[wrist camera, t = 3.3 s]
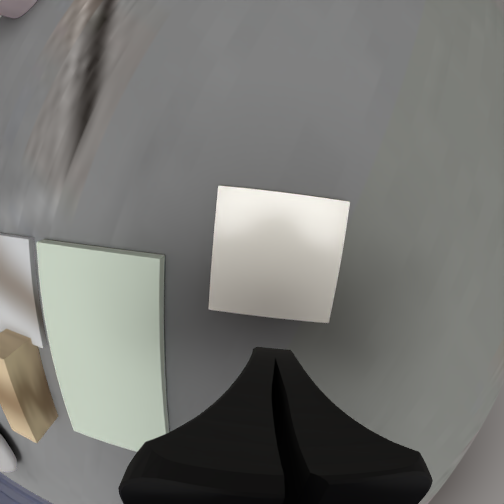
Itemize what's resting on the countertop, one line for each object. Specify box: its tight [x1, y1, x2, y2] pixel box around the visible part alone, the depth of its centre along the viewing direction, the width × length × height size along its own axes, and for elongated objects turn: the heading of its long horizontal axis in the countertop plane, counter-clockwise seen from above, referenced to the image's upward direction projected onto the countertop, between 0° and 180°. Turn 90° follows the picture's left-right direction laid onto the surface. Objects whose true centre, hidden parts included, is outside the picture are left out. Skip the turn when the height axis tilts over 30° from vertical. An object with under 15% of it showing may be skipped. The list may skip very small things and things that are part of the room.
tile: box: [208, 186, 350, 323], centre depth 15 cm, size 1×6×6 cm
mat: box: [37, 239, 169, 452], centre depth 16 cm, size 15×8×1 cm, turn 174°
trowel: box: [0, 233, 58, 443], centre depth 15 cm, size 15×5×4 cm, turn 174°
